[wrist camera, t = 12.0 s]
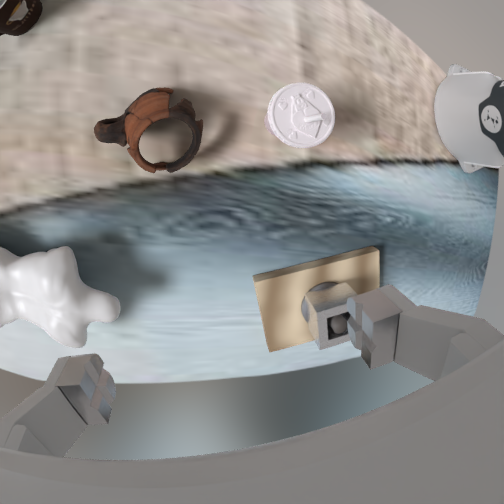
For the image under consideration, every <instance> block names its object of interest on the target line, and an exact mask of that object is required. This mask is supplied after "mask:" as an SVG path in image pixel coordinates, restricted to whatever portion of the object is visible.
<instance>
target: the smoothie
mask: <svg viewBox="0 0 504 504" xmlns="http://www.w3.org/2000/svg"><path fill="white" fill-rule="evenodd" d="M264 122H265V126H266V129H267V130H268V131H269V132H270V133H271V134H273V135H275V136H277V137H278V138H279V139H280V140H281V141H282V142H284V143H286V144H288V145H289V146H293V147H297V148H308V147H313V146H316V145H318V144H320V143H322V142H323V141H325V140H326V139H327V138H328V137H329V135H330V134H331V132H332V130H333V128H334V124H335V111H334V107H333V104H332V102H331V100H330V99H329V97H328V96H327V95H326V94H325V93H324V92H323V91H322V90H321V89H320V88H318V87H316V86H314V85H312V84H308V83H293V84H290V85H286V86H285V87H283V88H281V89H279V90H278V91H277V92H276V93H275V94H274V95H273V97H272V99H271V101H270V103H269V107H268V112H267V114H266V116H265V120H264Z"/></svg>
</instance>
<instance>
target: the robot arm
mask: <svg viewBox="0 0 504 504" xmlns="http://www.w3.org/2000/svg"><path fill="white" fill-rule="evenodd" d="M434 112H435V120H436V125H437V129H438V132H439V135H440V137H441V139H442V141H443V143H444V145H445V147H446V148H447V149H448V151H449V152H450V153H451V154H452V155H453V156H454V157H456V158H457V160H458V161H459V163H460V165H461V167H462V169H463V171H464V172H465V173H472V172H474V171H476V170H478V169H480V168H482V167H484V166H486V167H492V168H500V167H501V166H503V165H504V80H502V78H501V77H498V76H494V74H492V73H489V72H472V71H470V70H468V69H466V68H464V67H461V66H459V65H457V64H452V65H451V66H450V67H449V71H448V75H447V77H446V78H445V79H444V80H443V81H442V83H441V84H440V85H439V87H438V89H437V92H436V96H435V104H434ZM347 310H348V312H349V313H350V314H351V316H350V318H349V319H348V321H347V326H348V333H349V337H350V340H351V342H352V344H353V345H354V347H355V348H357V349H359V350H361V357H362V358H363V360H364V361H365V363H366V364H367V365H368V367H369V368H370V369H373V368H376V367H379V366H382V365H384V364H387V363H390V362H392V361H394V362H396V363H397V364H399V365H402V366H404V367H406V368H408V369H410V370H412V371H414V372H416V373H419V374H421V375H423V376H425V377H427V378H429V379H432V380H434V381H435V382H433V383H431V384H429V385H427V386H425V387H423V388H421V389H419V390H417V391H415V392H413V393H411V394H409V395H406V396H404V397H402V398H400V399H398V400H396V401H393V402H391V403H389V404H387V405H384V406H382V407H379V408H377V409H374V410H372V411H370V412H367V413H365V414H362V415H359V416H357V417H354V418H351V419H349V420H346V421H343V422H340V423H337V424H334V425H331V426H328V427H325V428H322V429H319V430H315V431H312V432H309V433H305V434H302V435H298V436H295V437H291V438H287V439H284V440H279V441H275V442H271V443H266V444H262V445H257V446H252V447H247V448H242V449H237V450H232V451H225V452H219V453H212V454H205V455H197V456H188V457H178V458H166V459H148V460H94V459H78V458H65V457H64V456H65V454H66V453H67V452H68V450H69V449H70V448H71V447H72V445H73V444H74V443H75V441H76V440H77V439H78V438H79V436H80V435H81V434H82V433H83V431H84V430H85V429H86V428H87V425H98V424H108V423H109V418H110V414H111V410H112V409H111V407H110V405H109V404H110V403H111V402H112V401H113V400H114V399H115V394H116V390H115V383H114V380H113V378H112V376H111V375H110V373H109V372H107V371H106V370H104V369H103V364H104V363H103V361H102V359H101V358H100V356H99V355H97V354H85V355H76V356H66V357H61V358H58V360H57V362H56V363H55V365H54V367H53V369H52V371H51V373H50V375H49V377H48V379H47V381H46V383H45V384H44V387H40V388H39V389H37V390H36V391H35V392H34V393H32V394H31V395H30V396H29V397H27V398H26V399H25V400H24V401H22V402H21V403H20V404H19V405H17V406H16V407H15V408H14V409H13V410H11V411H10V412H9V413H8V414H6V415H5V416H4V417H3V418H1V419H0V504H504V335H503V334H502V333H500V332H499V331H498V330H497V329H495V328H494V327H493V326H492V325H491V324H489V323H488V322H487V321H486V320H484V319H480V318H477V317H472V316H467V315H463V314H458V313H454V312H449V311H445V310H440V309H436V308H432V307H427V306H423V305H420V306H418V307H417V306H416V305H415V304H414V303H413V302H412V301H410V300H409V299H408V298H407V297H406V296H404V295H403V294H402V293H401V292H400V291H399V290H397V289H396V288H395V287H394V286H393V285H390V284H388V285H385V286H382V287H380V288H377V289H375V290H372V291H369V292H366V293H363V294H360V295H357V296H354V297H350V298H348V300H347Z"/></svg>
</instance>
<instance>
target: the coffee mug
mask: <svg viewBox="0 0 504 504" xmlns="http://www.w3.org/2000/svg"><path fill="white" fill-rule="evenodd" d="M41 12H42V3H41V1H40V0H0V36H1V35H3V34H9V35H13V36H19V35H22V34H24V33H25V32H27V31H28V30H29V29H31V28H32V27H33V26H34V24H35V23H36V22H37V20H38V19H39V17H40V15H41Z"/></svg>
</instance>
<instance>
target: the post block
mask: <svg viewBox="0 0 504 504" xmlns="http://www.w3.org/2000/svg"><path fill="white" fill-rule="evenodd" d="M253 281H254V286H255V290H256V295H257V300H258V304H259V309H260V314H261V318H262V323H263V328H264V332H265V337H266V342H267V346H268V349H269V352H273V351H277V350H281V349H284V348H288V347H292V346H295V345H299V344H303V343H306V342H310V341H313V340H314V338H313V336H312V334H311V332H310V331H309V328H308V319H307V310H306V302H305V294H304V293H308V292H311V291H315V290H319V289H322V288H326V287H330V286H333V285H337V284H340V283H344V282H346V283H347V284H348V285H349V286H350V287H351V288H352V289H353V290H354V291H355V292H356V294H357V295H360V294H363V293H366V292H369V291H372V290H375V289H377V288H379V250H378V249H376V248H375V247H373V246H370V247H366V248H362V249H358V250H354V251H351V252H347V253H343V254H339V255H335V256H331V257H327V258H323V259H319V260H315V261H311V262H307V263H303V264H299V265H295V266H291V267H287V268H283V269H279V270H275V271H271V272H266V273H262V274H258V275H254V276H253ZM327 321H328V323H329V324H330V326H331V327H332V329H333V330H334V332H335V333H342V332H344V331H345V330H346V329H347V327H348V326H347V321H346V320H345V318H344V317H343V316H342V314H339V315H335V316H332V317H329V318H327Z"/></svg>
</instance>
